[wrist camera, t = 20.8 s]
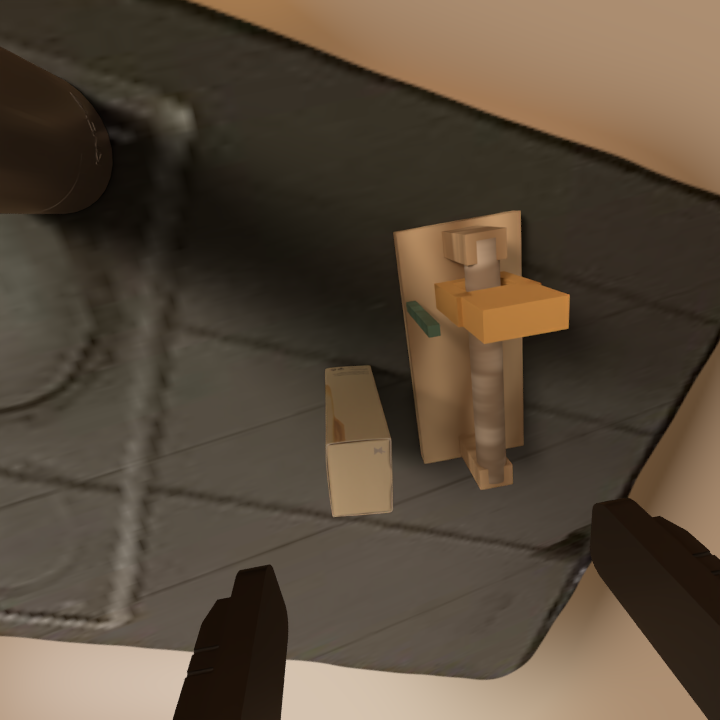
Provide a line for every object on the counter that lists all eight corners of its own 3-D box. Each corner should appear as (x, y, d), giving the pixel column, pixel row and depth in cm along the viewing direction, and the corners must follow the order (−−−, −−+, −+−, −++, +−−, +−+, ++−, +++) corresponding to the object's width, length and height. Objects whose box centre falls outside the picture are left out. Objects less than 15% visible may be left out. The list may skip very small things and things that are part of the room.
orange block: (436, 308, 31) (479, 345, 22) (434, 283, 30) (477, 311, 22) (504, 295, 31) (573, 327, 23) (504, 270, 31) (574, 293, 22)
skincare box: (324, 366, 36) (323, 439, 24) (371, 363, 36) (392, 433, 24) (329, 428, 38) (330, 520, 26) (373, 424, 38) (394, 514, 27)
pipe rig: (421, 455, 40) (446, 519, 31) (393, 231, 32) (417, 238, 23) (516, 437, 40) (567, 496, 32) (512, 210, 32) (578, 209, 24)
